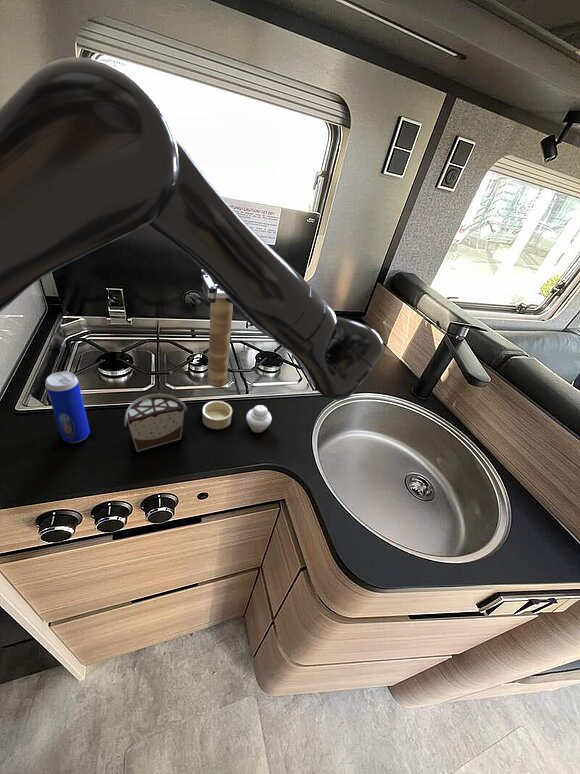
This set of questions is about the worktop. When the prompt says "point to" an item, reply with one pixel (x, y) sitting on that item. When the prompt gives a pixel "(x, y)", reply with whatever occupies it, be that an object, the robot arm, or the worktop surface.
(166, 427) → the iced muffin
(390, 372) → the worktop surface
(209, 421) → the socket
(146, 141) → the robot arm
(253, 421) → the white lidded jar
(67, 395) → the beverage can
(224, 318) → the post
